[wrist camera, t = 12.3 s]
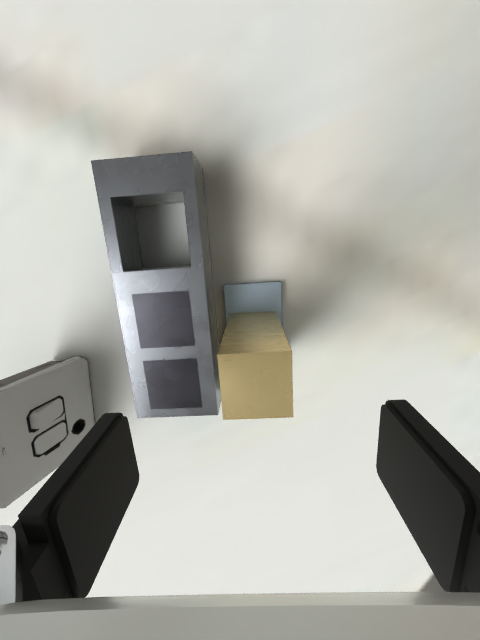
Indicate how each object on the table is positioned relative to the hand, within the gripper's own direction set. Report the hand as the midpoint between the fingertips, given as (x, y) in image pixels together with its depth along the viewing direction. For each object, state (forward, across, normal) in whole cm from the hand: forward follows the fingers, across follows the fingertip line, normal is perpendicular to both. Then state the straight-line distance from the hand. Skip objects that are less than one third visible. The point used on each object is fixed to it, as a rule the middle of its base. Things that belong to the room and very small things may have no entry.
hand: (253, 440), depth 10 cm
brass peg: (+15, 0, +1) cm, 15 cm away
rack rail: (+16, +7, -3) cm, 17 cm away
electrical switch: (+16, +19, +7) cm, 26 cm away
